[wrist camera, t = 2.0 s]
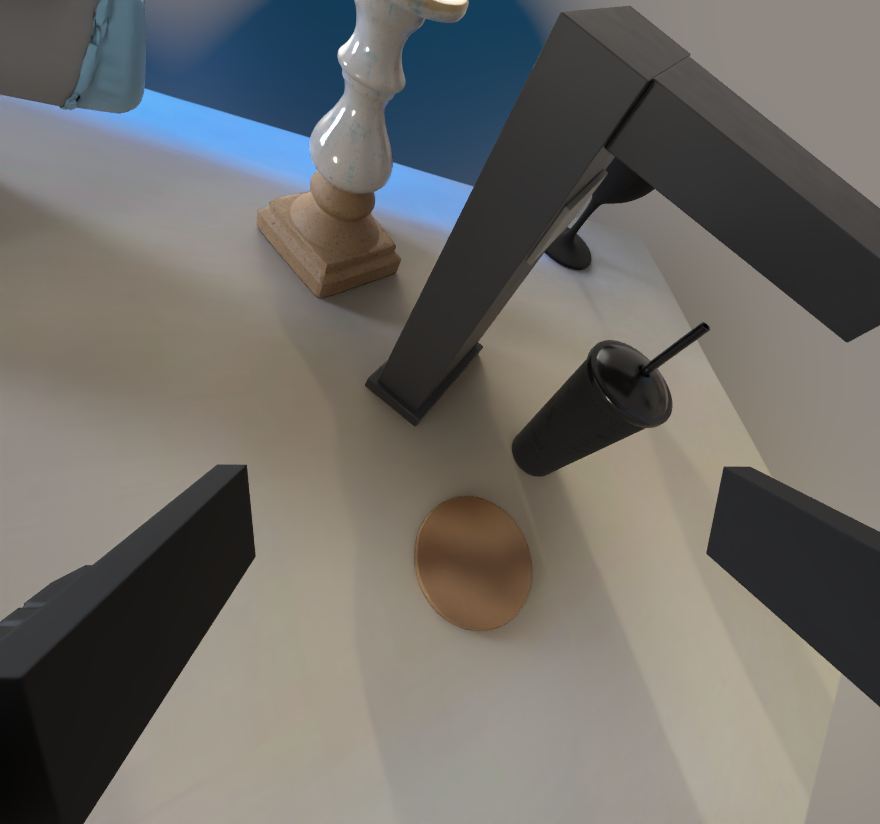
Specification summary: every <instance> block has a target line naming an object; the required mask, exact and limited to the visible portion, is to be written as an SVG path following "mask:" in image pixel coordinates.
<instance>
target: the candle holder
mask: <svg viewBox="0 0 880 824" xmlns="http://www.w3.org/2000/svg"><path fill="white" fill-rule="evenodd" d="M354 1H355V4H356V9H357V23H356V28H355V30H354V33H353V35H352V36H351V38H350V39H349V41H347V43H346V44H344V45H343V46H342V47H341V48H340V49H339V51H338V60H339V63H340V65H341V67H342V74H343V77H344V81H345V91H344V94H343V96H342V97H341V99H340V100H339V101H338V103H337V104H336V105H335V106H334V107H333V108H332V109H331V110H330V111H329V112H328V113H327V114H326V115H325V116H324V117H323V118H322V119H321V120H320V121H319V122H318V123H317V124H316V126H315V128H314V130H313V131H312V134H311V137H310V142H309V150H310V156H311V159H312V161H313V163H314V165H315V167H316V169H317V171H316V172H315V173H314V174H313V176H312V178H311V182H310V189H311V191H310V192H305V193H300V194H295V195H290V196H284V197H281V198H277V199H274V200H273V201H271V202H270V204H269V207H265V208H261V209H259V210H258V216H257V226H258V228H259V229H260V230H261V232H262V233H263V234H264V236H265V237H266V238H267V239H268V240H269V242H270V243H271V244H272V245H273V246H274V247H275V249H276V250H277V251H278V252H279V253H280V255H281V256H282V257H283V258H284V259H285V261H286V262H287V263H288V264H289V265H290V267H291V268H292V269H293V270H294V271H295V272H296V274H297V275H298V276H299V277H300V278H301V280H302V281H303V282H304V283H305V284H306V286H307V287H308V288H309V289H310V290H311V291H312V292H313V293H314V294H315V295H316V296H317V297H319V298H323V297H327V296H330V295H334V294H337V293H340V292H343V291H345V290H348V289H351V288H354V287H357V286H360V285H363V284H365V283H368V282H371V281H374V280H377V279H380V278H382V277H385V276H388V275H390V274H393V273H395V272H396V271H397V269H398V266H399V264H400V261H401V258H400V256H399V255H398V254H397V253H396V251H395V248H396V246H395V244H394V241H393V240H392V239H391V237H390V236H389V235H388V233H387V232H386V231H385V230H384V229H383V228H382V227H381V225H380V224H379V223H378V222H377V221H376V220H375V218H374V217H373V216H372V215H371V214H370V213H371V212H372V210H373V208H374V205H375V195H374V192H375V191H377V190H379V189H381V188H382V187H383V186H385V184H386V183H387V182H388V180H389V178H390V176H391V172H392V167H393V157H392V150H391V146H390V142H389V138H388V134H387V130H386V124H385V115H384V114H385V108H386V106H387V104H388V102H389V101H390V100H391V99H393V98H394V97H395V94H396V93H399V92H400V91H402V90H403V88H404V86H405V77H404V74H403V69H402V61H401V56H402V49H403V46H404V44H405V42H406V40H407V38H408V37H409V35H410V34H411V33H412V32H414V31H415V30H417V29H418V28H419V27H420V26H421V25H422V24H423V23H424V21H425V19H426V18H427V19H430V20H434V21H438V22H445V23H446V22H447V23H452V22H456V21H458V20H460V19H461V18H462V17H463V16H464V14H465V13H466V10H467V6H468V2H469V1H468V0H354Z"/></svg>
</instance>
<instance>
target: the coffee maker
mask: <svg viewBox="0 0 880 824" xmlns="http://www.w3.org/2000/svg"><path fill="white" fill-rule="evenodd" d="M689 56H690V53H688V52H687V51H686V50H685V49H684V48H682V47H681V46H680V45H679V44H677V43H676V42H675V41H674V40H672V39H671V38H670V37H669V36H667V35H666V34H665V33H664V32H662V31H661V30H660V29H659V28H657V27H656V26H655V25H654V24H652V23H651V22H650V21H649V20H647V19H646V18H645V17H644V16H642V15H641V14H640V13H639V12H637V11H636V10H635V9H634V8H632V7H631V6H622V7H610V8H598V9H586V10H574V11H562V12H561V13H560V14H559V17H558V19H557V21H556V23H555V25H554V27H553V29H552V31H551V33H550V35H549V37H548V39H547V41H546V43H545V45H544V47H543V49H542V51H541V53H540V55H539V57H538V59H537V61H536V63H535V65H534V67H533V69H532V71H531V73H530V75H529V77H528V79H527V81H526V83H525V85H524V87H523V89H522V91H521V93H520V95H519V97H518V99H517V101H516V103H515V105H514V107H513V109H512V111H511V114H510V115H509V117H508V119H507V121H506V123H505V125H504V127H503V129H502V131H501V133H500V136H499V137H498V139H497V142H496V144H495V145H494V147H493V149H492V152H491V153H490V155H489V158H488V160H487V162H486V164H485V166H484V168H483V170H482V172H481V174H480V176H479V178H478V180H477V182H476V184H475V186H474V188H473V190H472V192H471V194H470V196H469V198H468V200H467V202H466V204H465V206H464V208H463V210H462V212H461V214H460V216H459V218H458V220H457V222H456V224H455V226H454V228H453V230H452V232H451V234H450V236H449V238H448V240H447V242H446V244H445V246H444V248H443V250H442V252H441V254H440V256H439V258H438V260H437V262H436V264H435V266H434V268H433V270H432V272H431V274H430V276H429V278H428V280H427V282H426V284H425V286H424V288H423V290H422V292H421V294H420V296H419V299H418V301H417V303H416V305H415V307H414V309H413V311H412V313H411V315H410V317H409V319H408V321H407V323H406V325H405V327H404V329H403V331H402V333H401V335H400V337H399V339H398V341H397V343H396V345H395V347H394V349H393V351H392V353H391V355H390V357H389V359H388V361H387V362H385V363H384V364H383V365H382V366H381V367H380V368H379V369H378V370H377V371H376V372H375V373H373V374H372V375H371V376H370V377H369V378H368V380H367V382H366V384H365V386H366V387H368V388H369V389H370V390H371V391H373V392H374V393H375V394H376V395H377V396H379V397H380V398H381V399H382V400H384V401H385V402H386V403H387V404H388V405H390V406H391V407H392V408H393V409H395V410H396V411H397V412H398V413H399V414H401V415H402V416H403V417H404V418H406V419H407V420H408V421H409V422H410V423H412V424H413V425H414V426H416V425H417V424H418V423H419V422H420V421H421V419H422V418H423V417H424V416H425V415H426V414H427V412H428V411H429V410H430V409H431V408H432V407H433V405H434V404H435V403H436V402H437V401H438V400H439V398H440V397H441V396H442V395H443V394H444V393H445V391H446V390H447V389H448V388H449V387H450V386H451V385H452V383H453V382H454V381H455V380H456V379H457V378H458V376H459V375H460V374H461V373H462V372H463V371H464V369H465V368H466V367H467V366H468V365H469V364H470V362H471V361H472V360H473V359H474V358H475V357H476V355H477V354H478V353H479V352H480V351H481V349H482V348H483V346H482V345H481V344H479V343H478V341H479V340H480V339H481V337H482V336H483V335H484V333H485V332H486V330H487V329H488V328H489V326H490V325H491V324H492V322H493V321H494V320H495V318H496V317H497V316H498V314H499V313H500V312H501V310H502V309H503V307H504V306H505V305H506V303H507V302H508V301H509V299H510V298H511V297H512V295H513V294H514V293H515V291H516V290H517V289H518V287H519V286H520V285H521V283H522V282H523V280H524V279H525V278H526V276H527V275H528V274H529V272H530V271H531V270H532V268H533V267H534V266H535V264H536V263H537V262H538V260H539V259H540V257H541V256H542V255H543V253H544V252H545V251H546V249H547V248H548V247H549V245H550V244H551V243H552V242H553V241H554V240H555V239H556V238H557V237H558V236H559V235H560V234H561V233H562V232H563V231H564V230H565V228H566V227H567V226H568V225H569V224H570V223H571V222H572V221H573V219H574V218H575V217H576V215H577V214H578V213H579V211H580V210H581V209H582V207H583V206H584V205H585V203H586V202H587V201H588V199H589V198H590V197H591V195H592V194H593V193H594V191H595V190H596V189H597V187H598V186H599V185H600V183H601V182H602V181H603V179H604V178H605V177H606V175H607V174H608V172H607V171H605V170H606V168H607V167H608V166H609V164H610V163H611V162H612V160H613V159H614V158H615V157H616V158H617V159H619V160H620V161H621V162H622V163H624V164H625V165H626V166H627V167H629V168H630V169H631V170H632V171H634V172H635V173H636V174H637V175H639V176H640V177H641V178H642V179H644V180H645V181H646V182H647V183H649V184H650V185H651V186H652V187H653V188H655V189H656V190H657V191H659V192H660V193H661V194H662V195H663V196H665V197H666V198H667V199H669V200H670V201H671V202H672V203H673V204H675V205H676V206H677V207H678V208H680V209H681V210H682V211H683V212H685V213H686V214H687V215H688V216H690V217H691V218H692V219H693V220H695V221H696V222H697V223H698V224H700V225H701V226H702V227H703V228H705V229H706V230H707V231H708V232H710V233H711V234H712V235H713V236H715V237H716V238H717V239H718V240H719V241H721V242H722V243H723V244H724V245H726V246H727V247H728V248H729V249H731V250H732V251H733V252H734V253H736V254H737V255H738V256H739V257H741V258H742V259H743V260H744V261H746V262H747V263H748V264H750V265H751V266H752V267H753V268H755V269H756V270H757V271H758V272H759V273H761V274H762V275H763V276H764V277H766V278H767V279H768V280H769V281H771V282H772V283H773V284H774V285H776V286H777V287H778V288H779V289H781V290H782V291H783V292H784V293H785V294H787V295H788V296H789V297H790V298H792V299H793V300H794V301H796V302H797V303H798V304H799V305H801V306H802V307H803V308H804V309H805V310H807V311H808V312H809V313H810V314H812V315H813V316H814V317H815V318H817V319H818V320H819V321H820V322H822V323H823V324H824V325H826V326H827V327H828V328H829V329H830V330H832V331H833V332H834V333H835V334H837V335H838V336H839V337H841V338H842V339H843V340H844V341H845V342H849V341H851V340H853V339H855V338H857V337H859V336H861V335H862V334H864V333H866V332H868V331H870V330H872V329H874V328H875V327H877V326H879V325H880V208H878V207H877V206H876V205H874V204H873V203H872V202H871V201H869V200H868V199H867V198H866V197H865V196H863V195H862V194H861V193H859V192H858V191H857V190H856V189H855V188H853V187H852V186H851V185H849V184H848V183H847V182H846V181H845V180H843V179H842V178H841V177H840V176H838V175H837V174H836V173H835V172H833V171H832V170H831V169H830V168H828V167H827V166H826V165H824V164H823V163H822V162H821V161H820V160H818V159H817V158H816V157H814V156H813V155H812V154H811V153H809V152H808V151H807V150H806V149H804V148H803V147H802V146H801V145H799V144H798V143H797V142H796V141H794V140H793V139H792V138H790V137H789V136H788V135H787V134H786V133H784V132H783V131H782V130H780V129H779V128H778V127H777V126H776V125H774V124H773V123H772V122H771V121H769V120H768V119H767V118H765V117H764V116H763V115H762V114H761V113H759V112H758V111H757V110H755V109H754V108H753V107H752V106H751V105H749V104H748V103H747V102H746V101H744V100H743V99H742V98H741V97H739V96H738V95H737V94H735V93H734V92H733V91H732V90H730V89H729V88H728V87H727V86H725V85H724V84H723V83H722V82H720V81H719V80H718V79H717V78H715V77H714V76H713V75H712V74H710V73H709V72H708V71H707V70H705V69H704V68H703V67H702V66H700V65H699V64H698V63H697V62H695V61H694V60H693V59H692V58H690V57H689Z"/></svg>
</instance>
